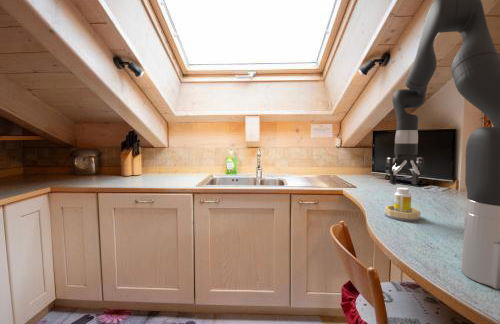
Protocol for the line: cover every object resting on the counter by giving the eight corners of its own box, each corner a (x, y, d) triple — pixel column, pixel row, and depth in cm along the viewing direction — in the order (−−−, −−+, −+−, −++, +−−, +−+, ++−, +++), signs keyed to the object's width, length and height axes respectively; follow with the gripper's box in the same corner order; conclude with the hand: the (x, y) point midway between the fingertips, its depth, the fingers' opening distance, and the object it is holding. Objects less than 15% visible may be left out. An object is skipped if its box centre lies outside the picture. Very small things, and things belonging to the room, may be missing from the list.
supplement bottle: (412, 214, 103) (413, 188, 102) (408, 217, 99) (409, 190, 98) (396, 211, 107) (397, 186, 106) (391, 214, 103) (392, 188, 102)
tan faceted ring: (427, 221, 98) (428, 213, 97) (397, 221, 97) (397, 214, 96) (406, 211, 109) (406, 204, 109) (378, 212, 109) (379, 205, 108)
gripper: (394, 142, 96) (392, 186, 97) (431, 142, 97) (428, 185, 98) (382, 142, 103) (380, 183, 105) (416, 142, 105) (414, 182, 106)
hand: (403, 184), depth 102 cm, fingers open, 8 cm apart
